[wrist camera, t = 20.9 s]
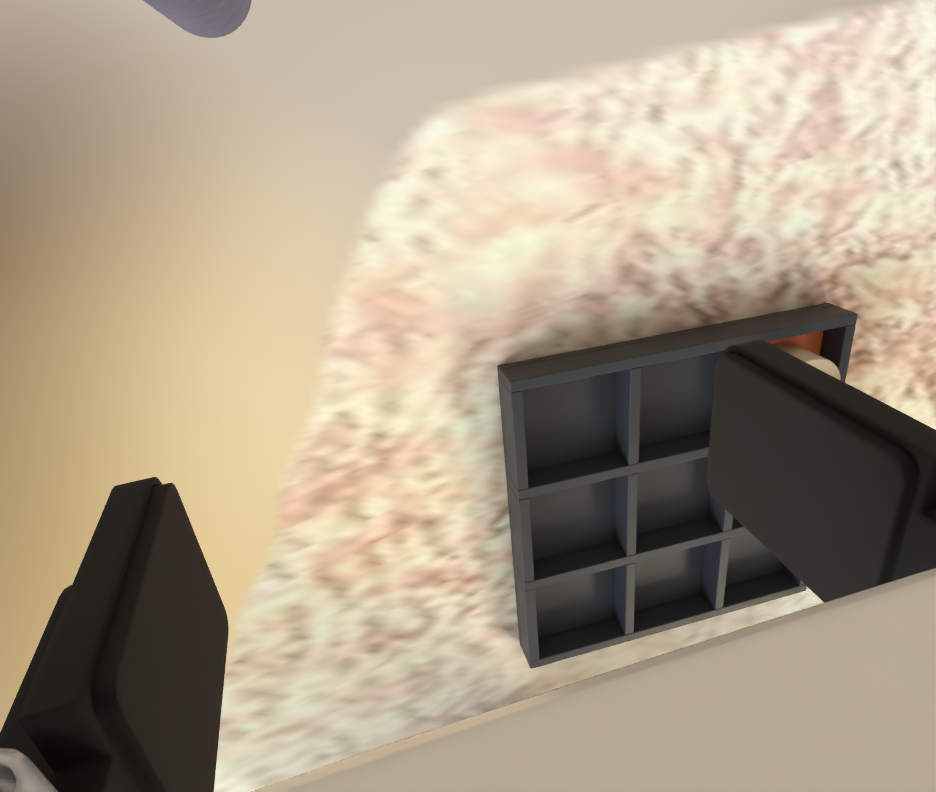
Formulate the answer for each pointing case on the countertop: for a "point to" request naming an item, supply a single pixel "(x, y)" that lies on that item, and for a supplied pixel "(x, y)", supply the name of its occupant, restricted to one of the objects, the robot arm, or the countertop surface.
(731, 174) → the countertop surface
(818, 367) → the cylinder
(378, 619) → the countertop surface
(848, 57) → the countertop surface
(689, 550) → the grid
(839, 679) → the robot arm
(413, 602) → the countertop surface
